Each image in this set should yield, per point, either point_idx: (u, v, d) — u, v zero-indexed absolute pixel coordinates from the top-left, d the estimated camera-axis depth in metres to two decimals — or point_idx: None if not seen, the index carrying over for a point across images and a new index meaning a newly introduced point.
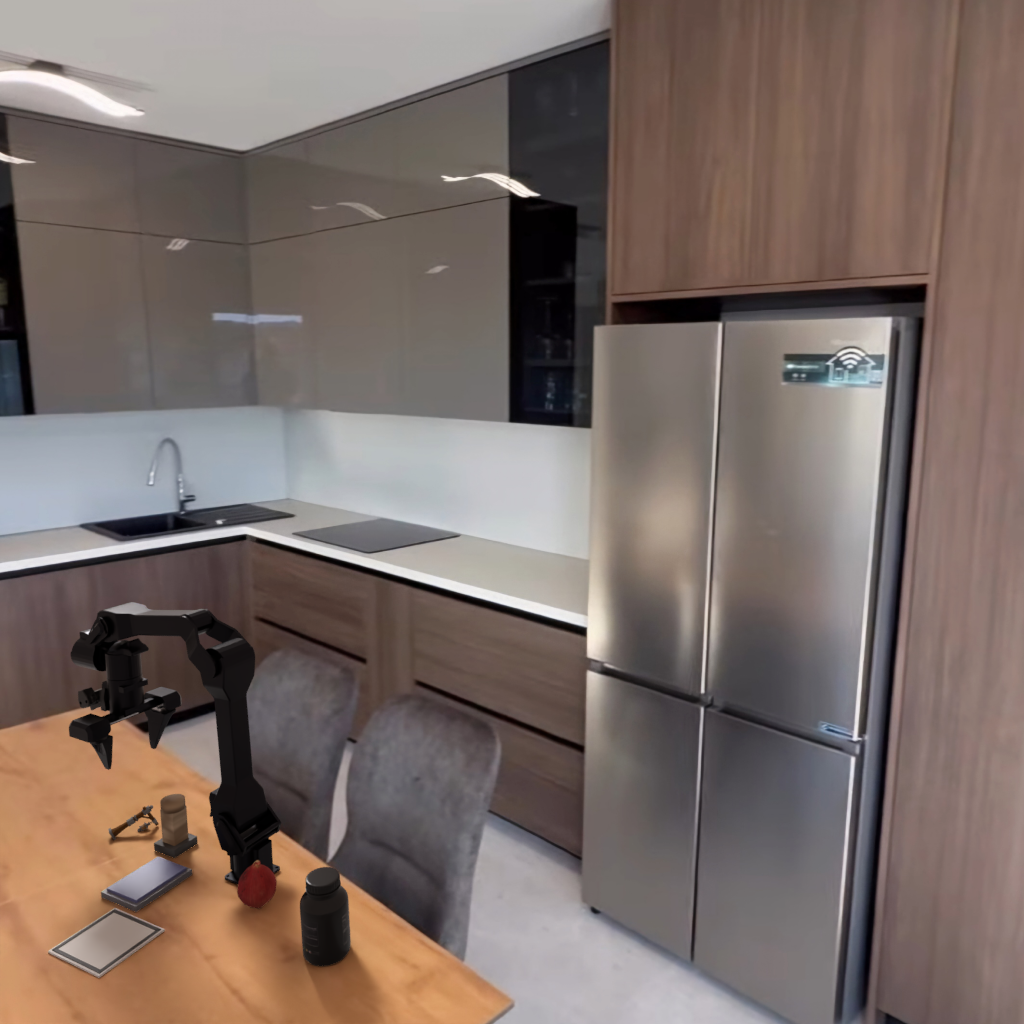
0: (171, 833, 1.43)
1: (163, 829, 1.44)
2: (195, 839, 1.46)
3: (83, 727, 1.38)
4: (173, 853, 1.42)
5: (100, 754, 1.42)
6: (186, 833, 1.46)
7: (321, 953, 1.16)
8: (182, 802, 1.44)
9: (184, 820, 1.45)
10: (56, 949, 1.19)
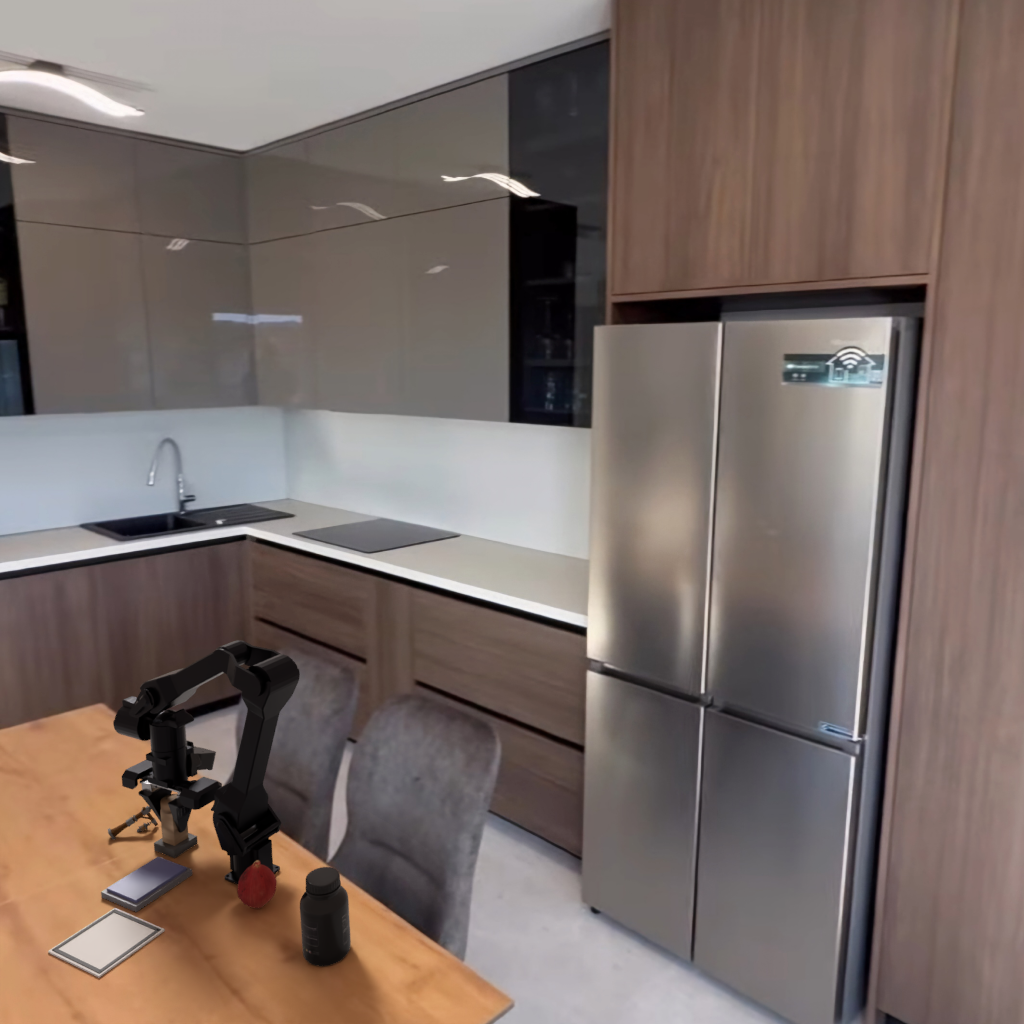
0: (171, 833, 1.43)
1: (163, 829, 1.44)
2: (195, 839, 1.46)
3: None
4: (173, 853, 1.42)
5: None
6: (186, 833, 1.46)
7: (321, 953, 1.16)
8: None
9: None
10: (56, 949, 1.19)
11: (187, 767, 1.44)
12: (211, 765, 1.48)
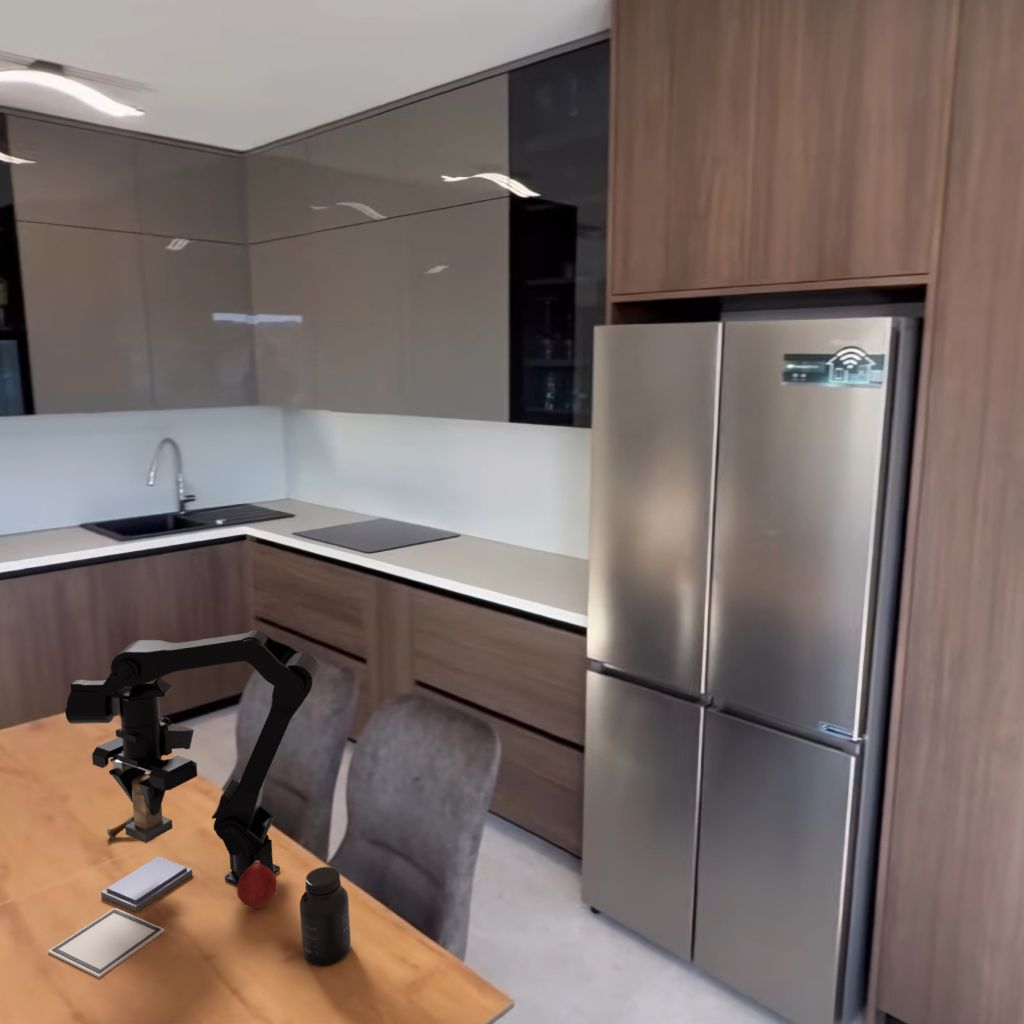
0: (143, 816, 1.33)
1: (135, 811, 1.34)
2: (170, 823, 1.36)
3: None
4: (144, 837, 1.32)
5: None
6: (160, 816, 1.35)
7: (321, 953, 1.16)
8: None
9: None
10: (56, 949, 1.19)
11: (160, 745, 1.33)
12: (188, 744, 1.38)
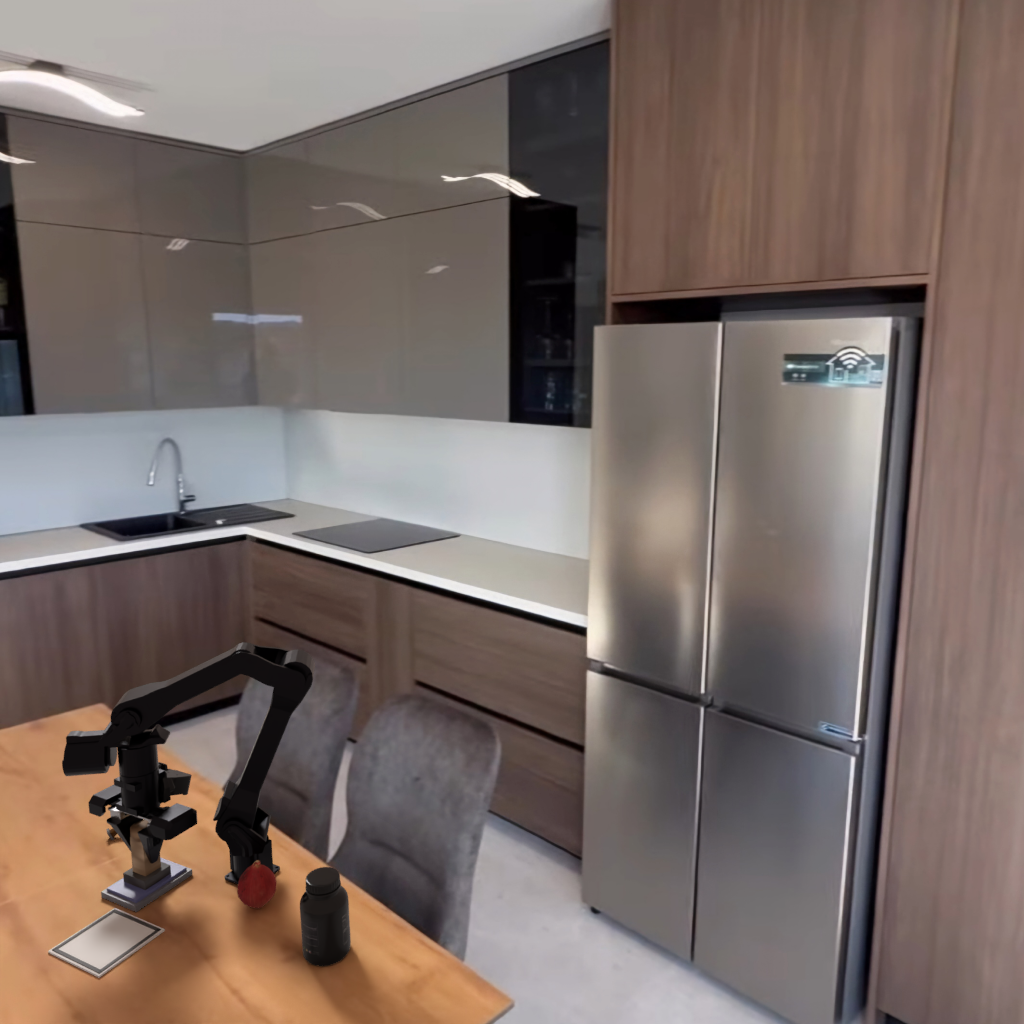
0: (142, 862, 1.32)
1: (133, 858, 1.33)
2: (168, 869, 1.35)
3: None
4: (144, 884, 1.31)
5: None
6: (158, 862, 1.34)
7: (321, 953, 1.16)
8: None
9: None
10: (56, 949, 1.19)
11: (159, 793, 1.32)
12: (186, 789, 1.37)
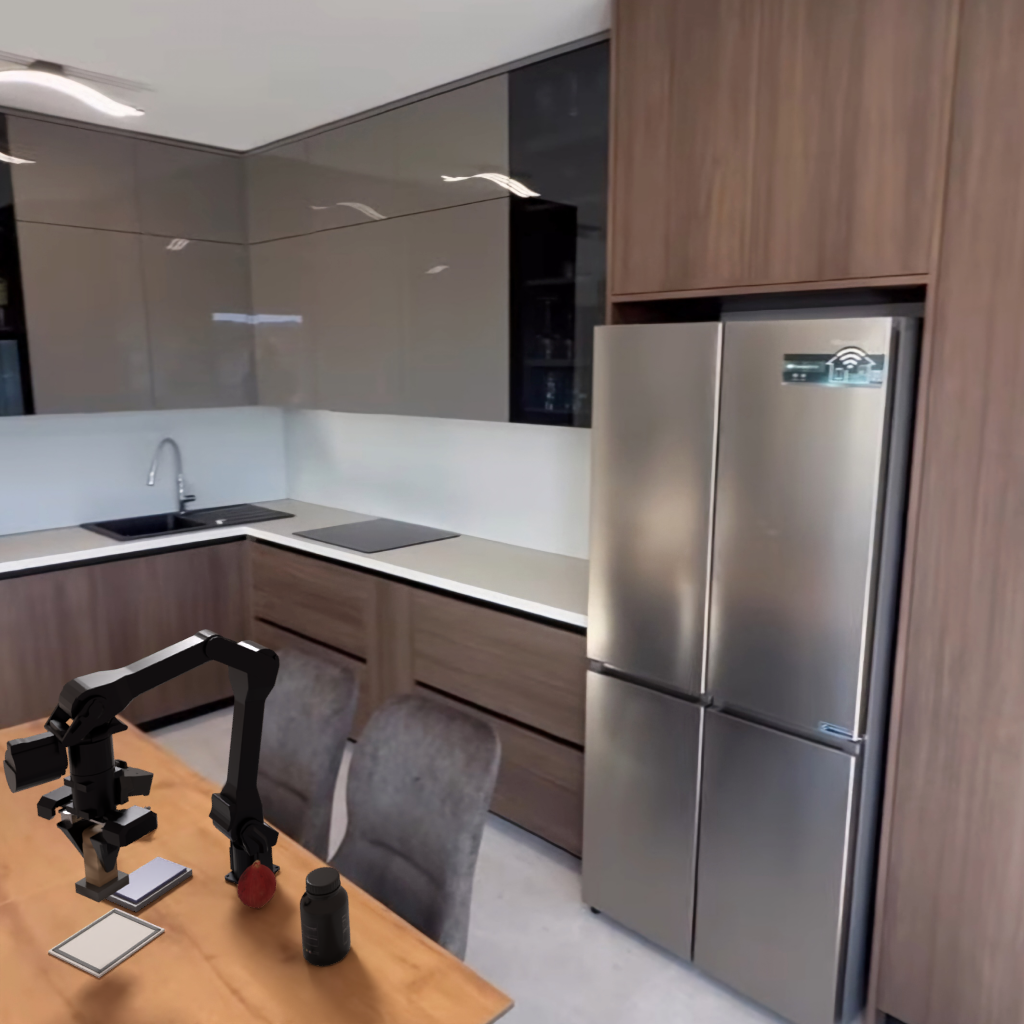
0: (95, 872, 1.18)
1: (86, 866, 1.19)
2: (126, 878, 1.21)
3: None
4: (97, 896, 1.17)
5: None
6: (115, 871, 1.20)
7: (321, 953, 1.16)
8: None
9: None
10: (56, 949, 1.19)
11: (115, 793, 1.18)
12: (147, 790, 1.23)
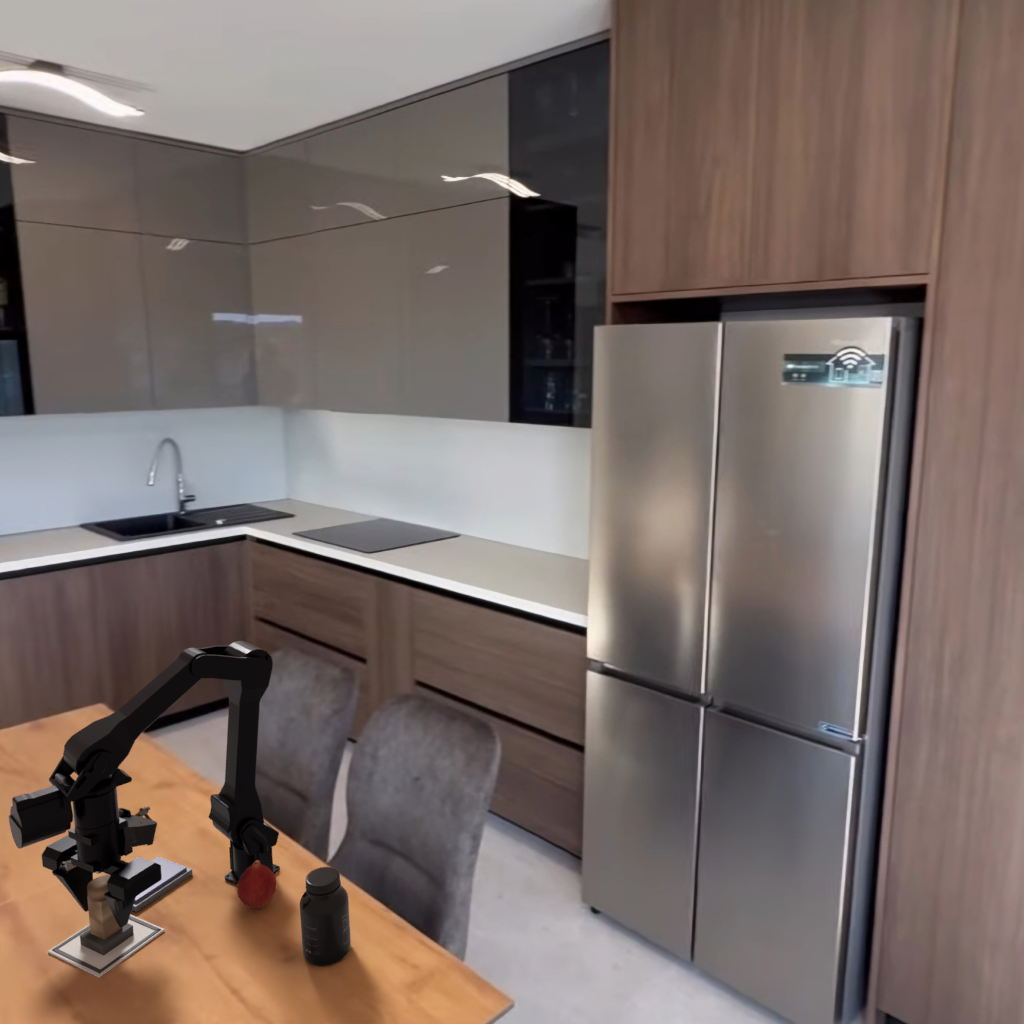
0: (100, 924, 1.19)
1: (91, 919, 1.20)
2: (131, 930, 1.22)
3: None
4: (102, 949, 1.18)
5: None
6: None
7: (321, 953, 1.16)
8: None
9: None
10: (56, 949, 1.19)
11: (119, 845, 1.19)
12: (151, 839, 1.24)
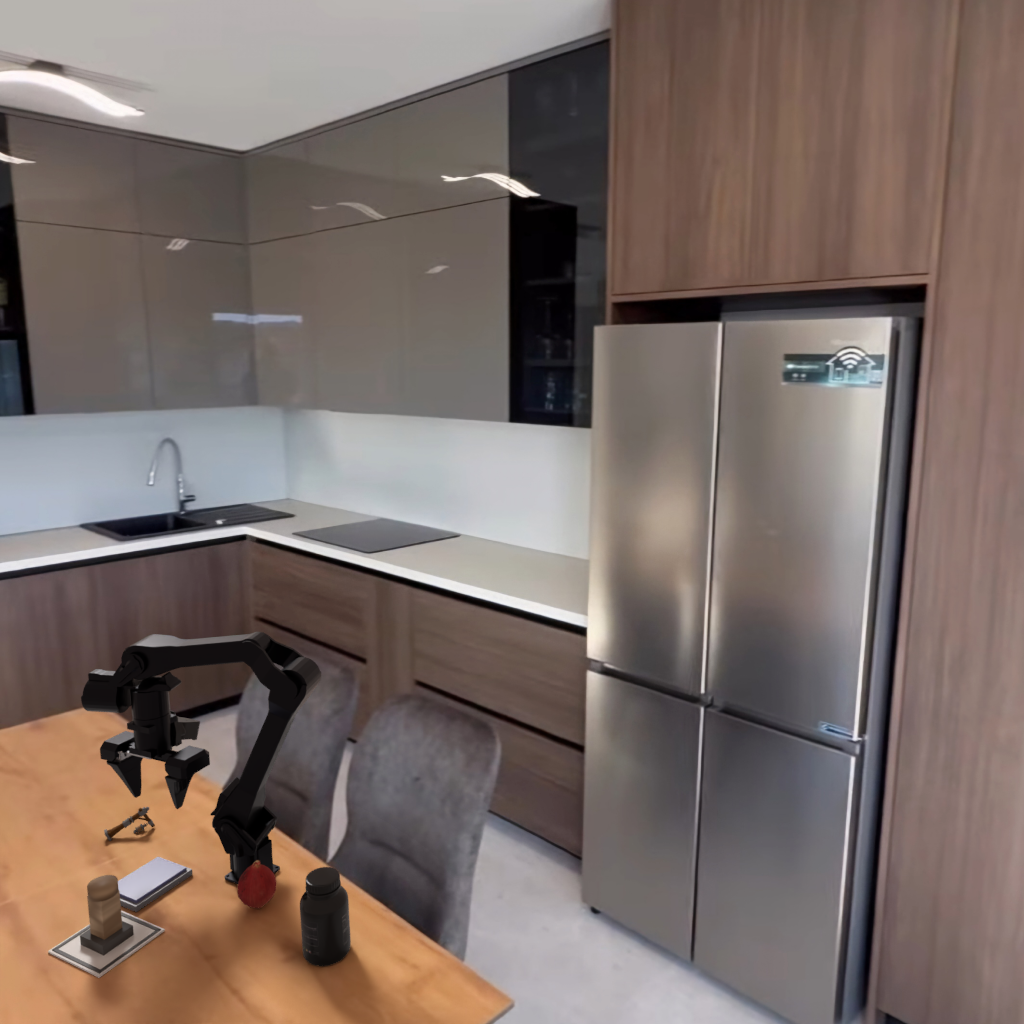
0: (100, 924, 1.19)
1: (91, 919, 1.20)
2: (131, 930, 1.22)
3: None
4: (102, 949, 1.18)
5: None
6: (119, 922, 1.21)
7: (321, 953, 1.16)
8: (114, 887, 1.19)
9: (117, 907, 1.21)
10: (56, 949, 1.19)
11: (171, 736, 1.36)
12: (195, 735, 1.41)
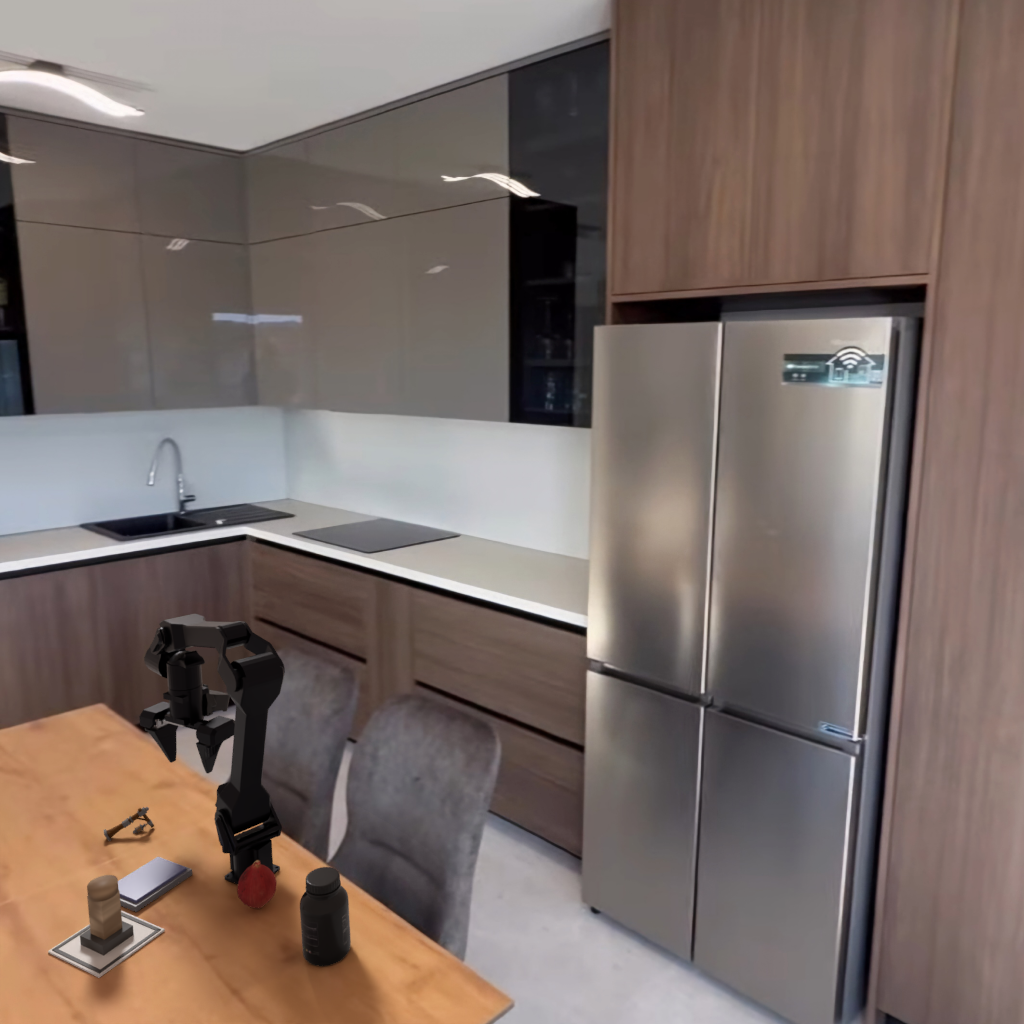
0: (100, 924, 1.19)
1: (91, 919, 1.20)
2: (131, 930, 1.22)
3: None
4: (102, 949, 1.18)
5: None
6: (119, 922, 1.21)
7: (321, 953, 1.16)
8: (114, 887, 1.19)
9: (117, 907, 1.21)
10: (56, 949, 1.19)
11: (203, 707, 1.48)
12: (226, 707, 1.53)
